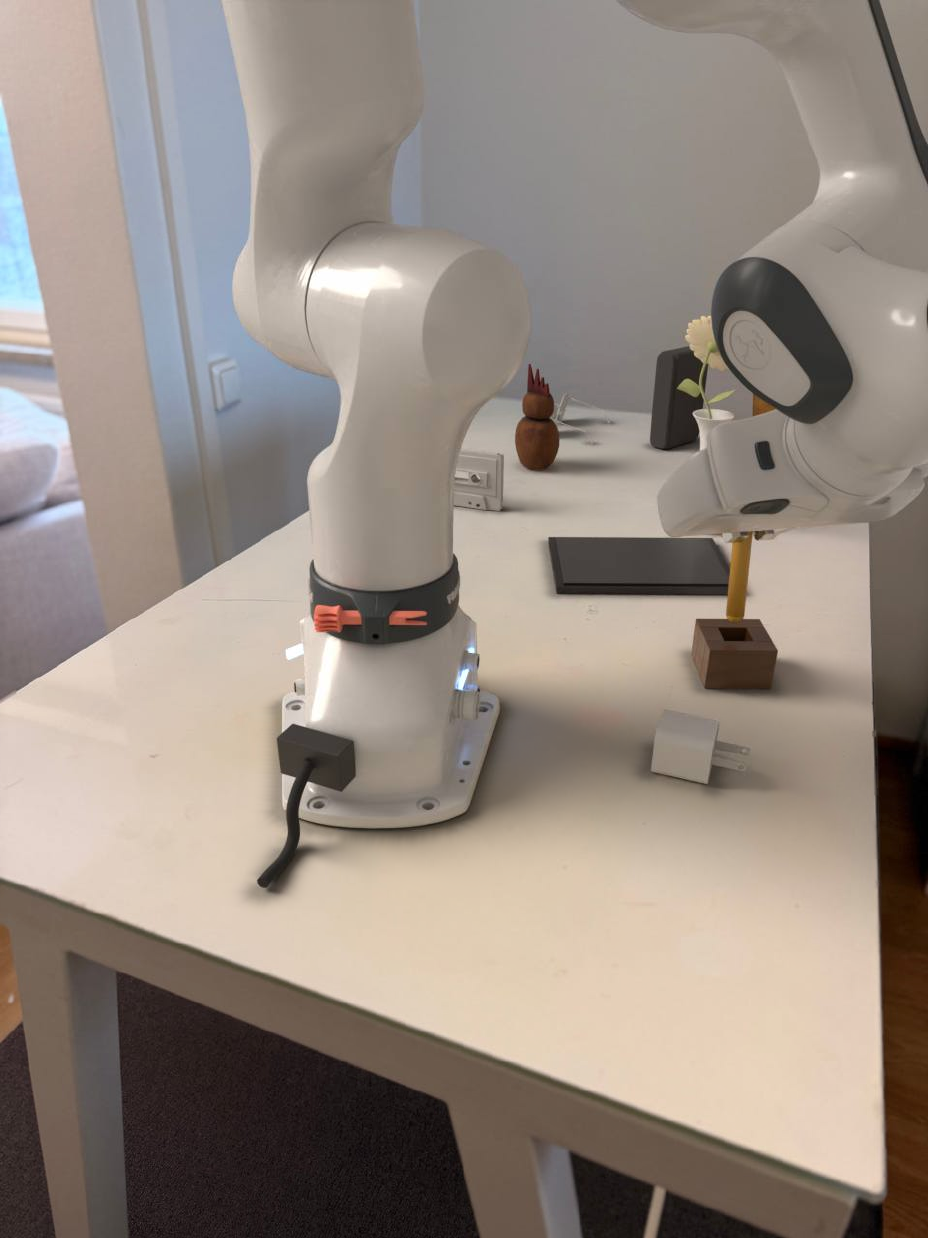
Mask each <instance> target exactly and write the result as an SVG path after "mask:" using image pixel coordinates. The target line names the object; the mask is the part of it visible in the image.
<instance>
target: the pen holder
mask: <svg viewBox="0 0 928 1238" xmlns="http://www.w3.org/2000/svg"><path fill="white" fill-rule="evenodd" d="M778 652H779V650H778V648H777V646H776V645H775V643H774V641H773V640H772V638H771V636H770V634H769V633H768V631H767V628H766V627H765V625H764V623H763V622H762V620H761V619H760V618H743V620H742V621H741V622H739V623H731V622H730V621H729V620H728V619H727V618H696V619H695V624H694V631H693V638H692V646H691V652H690V656H691V658H692V660H693V664H694V666H695V667H696V671H697V673H698V676H699V678H700V680H701V683H702V686H703V688H704V689H735V690H736V689H738V690H739V689H743V690H744V689H745V690H746V689H749V690H752V689H753V690H758V689H759V690H771V689H772V685H773V680H774V675H775V670H776V669H775V668H776V663H777V659H778V658H777V657H778V654H779V653H778Z"/></svg>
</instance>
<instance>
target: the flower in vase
mask: <svg viewBox="0 0 928 1238" xmlns="http://www.w3.org/2000/svg"><path fill="white" fill-rule="evenodd" d="M687 327H688V328H687V329H686V335H684V337H685V340H686V342H687V343H688V344H689V345H688V346H689V347H690V349H691V350H692V351H694V355H695V356H696V357H697V358H699V359H700V360H701V361H702V363H704V364H703V367H702V370H701V374H700V378H699V385H697V384H696V383H695V382H693V381H692V380H690V379H685V380H684V381H683V382H682V383H681V384H680V385H679V386H678V388H677V389H679V390H682V391H684V392H686V393H688V394H690V395H692V396H693V397H697V396H698V395H699V394H700V392H701V394H702V397H703V399H704V404H705V407H706V408H703V409H700V410H696V411H694V412H693V416H694V417H695V419H696V421H697V423H698V426H699V431H700V432H699V451H700V450H703V449H705V448H707V438H706V437H707V435H708V433H709V432H710V431H711V430H712V429H713V428H714V427H715V426H717V425H720V424H723V423H727V422H731V421H733V419H734V418H735V414H734V413H733V412H731V411H728V410H724V409H719V408H711V407H710V405H709V404H712V403H717V402H719V401H722V400H725V399H726V398H727V397H729V396H730V395H732V394H733V393H734V391H735V389H733V390H730V391H725V392H721V393H719V394H717V395H716V396H714V397H713V398H712V399H710V400H709V401H708V399H707V396H706V394H704V391H703V387H702V377H703V373H704V370H705V367H706V364H708V365H709V366H710V368H711V369H712V370H718V371H721V372H726V370H728V371H730V370H729V368H728V367H727V366H726V364H725V362H724V361H723V359H722V357H721V355H720V353H719V350H718V348H717V345H716V342H715V339H714V335H713V330H712V322H711V315H708V316H705V315H701V316H700V318H697V319H693V320H692V321H691V322H688V324H687ZM656 506H657V507H658V505H657V504H656Z"/></svg>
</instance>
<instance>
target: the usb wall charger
mask: <svg viewBox="0 0 928 1238" xmlns="http://www.w3.org/2000/svg"><path fill="white" fill-rule="evenodd" d="M662 710H663V711H662V713H661V716H660V719H659V722H658V725H657V727H656V731H655V735H654V741H653V750H652V758H651V766H650V772H651V773H657V774H659V775H660V774H661V775H665V776H669V777H674V778H679V779H683V780H686V781H692V782H696V783H699V784H700V783H701V784H704V785H708V783H709V780H710V775H711V771H712V767H713V766H718V767H723V768H727V769H731V770H737V771H742V772H746V771H747V767H748V763H747V762H743V761H739V760H736V759H732V758H728V757H723V756H718V755H715V754H716V750H717V751H720V752H726V753H731V754H733V755H740V756H750V754H751V753H750V752H751V748H750V747H746V746H743V745H739V744H735V743H729V742H725V741H720V740H718V734H719V728H720V722H721V721H720V720H718V719H713V718H707V717H703V716H698V715H693V714H689V713H684V712H678V711H674V710H670V709H662ZM743 750H746V752H743ZM739 765H743V767H740V766H739Z"/></svg>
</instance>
